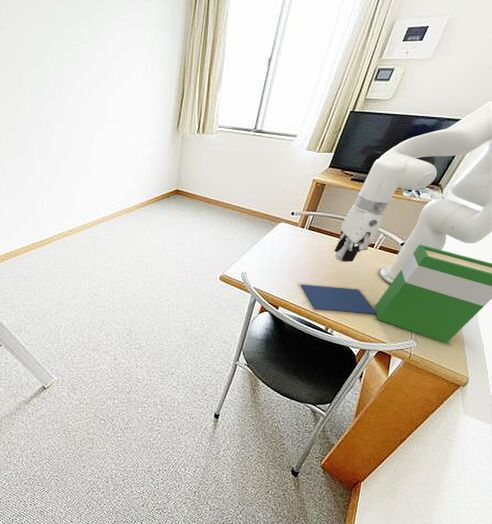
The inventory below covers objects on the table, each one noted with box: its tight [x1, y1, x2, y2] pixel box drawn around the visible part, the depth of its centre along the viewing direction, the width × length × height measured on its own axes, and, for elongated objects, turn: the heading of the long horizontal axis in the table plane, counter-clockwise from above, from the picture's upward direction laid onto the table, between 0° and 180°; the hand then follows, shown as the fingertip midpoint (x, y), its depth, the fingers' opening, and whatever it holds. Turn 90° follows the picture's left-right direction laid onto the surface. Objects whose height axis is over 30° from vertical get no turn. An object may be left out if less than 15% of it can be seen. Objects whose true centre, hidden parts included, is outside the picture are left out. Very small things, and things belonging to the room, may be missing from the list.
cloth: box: [300, 284, 377, 315], centre depth 102 cm, size 20×12×1 cm, turn 86°
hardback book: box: [374, 245, 492, 344], centre depth 87 cm, size 18×7×24 cm, turn 61°
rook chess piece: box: [334, 237, 351, 263], centre depth 95 cm, size 4×4×8 cm
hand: (343, 255), depth 97 cm, fingers closed on rook chess piece, 4 cm apart
